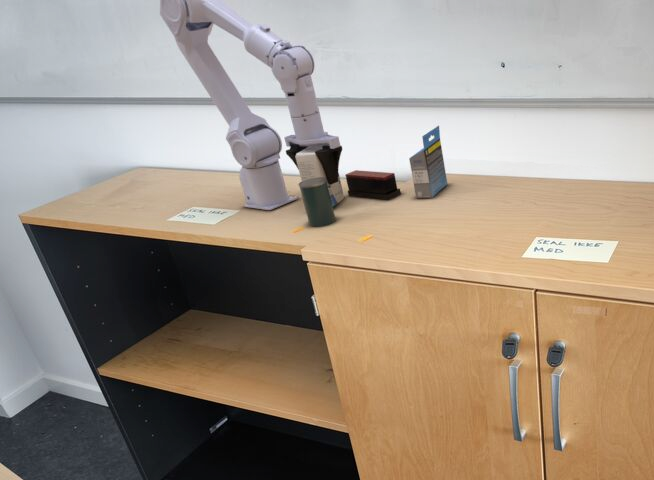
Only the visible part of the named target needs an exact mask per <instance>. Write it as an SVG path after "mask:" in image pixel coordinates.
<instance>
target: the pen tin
mask: <svg viewBox="0 0 654 480" xmlns="http://www.w3.org/2000/svg"><path fill="white" fill-rule="evenodd" d="M298 187H299V190H300V194H301V197H302V198H301V199H302V201H303V205H304V209H305V212H306V213H305V214H306V217H307V220H308V224H309V226H310V227H315V228H317V227H318V228H319V227H325V226H328V225H331V224H332V223H334V222H335V221H336V219H337V218H336V215H335V211H334V207H333V206H332V202H331V198H330V193H329V189H328V185H327V179H326V178H324V177H317V178H311V179H307V180H304V181H302V180H301V181H300V182H298Z"/></svg>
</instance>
